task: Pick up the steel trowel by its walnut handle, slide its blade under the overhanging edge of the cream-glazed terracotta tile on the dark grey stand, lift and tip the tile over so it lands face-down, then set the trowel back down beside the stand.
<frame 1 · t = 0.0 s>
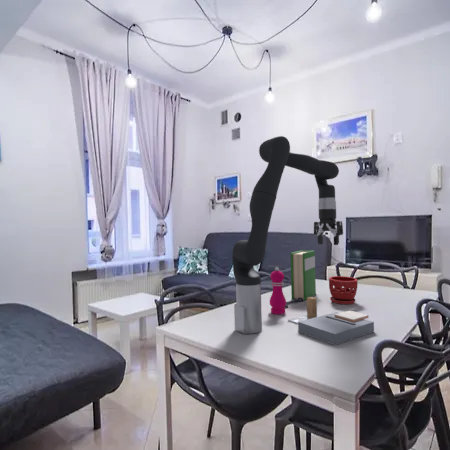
hand: (328, 244, 142), 29 cm above the table, tool pointing down, fingers open, 8 cm apart
bracket: (290, 304, 156), on the table
trowel: (306, 320, 128), on the table
tile stand: (335, 331, 113), on the table
plant pot: (343, 303, 154), on the table
pepper mill: (278, 313, 139), on the table
hardback book: (304, 296, 169), on the table
tile: (351, 317, 118), point 3 cm above the table, touching tile stand
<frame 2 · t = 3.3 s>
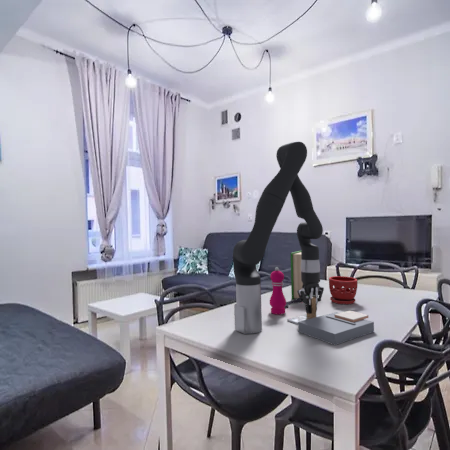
hand: (311, 312, 129), 2 cm above the table, tool pointing down, fingers closed on trowel, 2 cm apart
trowel: (306, 320, 128), on the table, touching gripper
everything else where it was.
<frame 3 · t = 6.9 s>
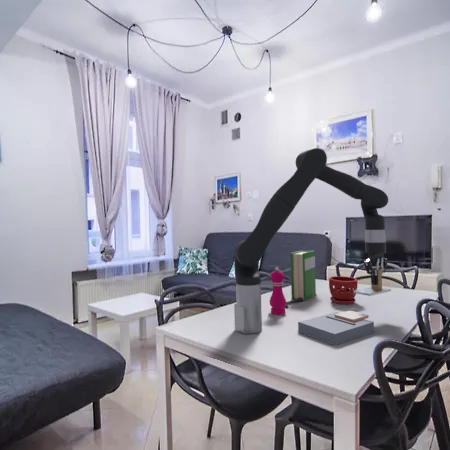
hand: (376, 284, 127), 14 cm above the table, tool pointing down, fingers closed on trowel, 2 cm apart
trowel: (372, 291, 125), point 11 cm above the table, touching gripper
everything else where it was.
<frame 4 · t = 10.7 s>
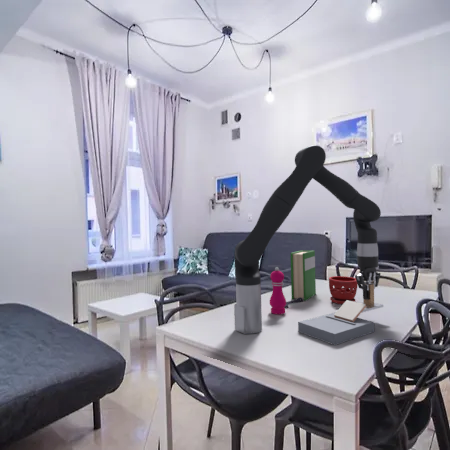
hand: (368, 298, 124), 9 cm above the table, tool pointing down, fingers closed on trowel, 2 cm apart
trowel: (364, 307, 122), point 6 cm above the table, touching gripper
tile: (350, 311, 118), point 6 cm above the table, tilted 29°, touching tile stand
everything else where it was.
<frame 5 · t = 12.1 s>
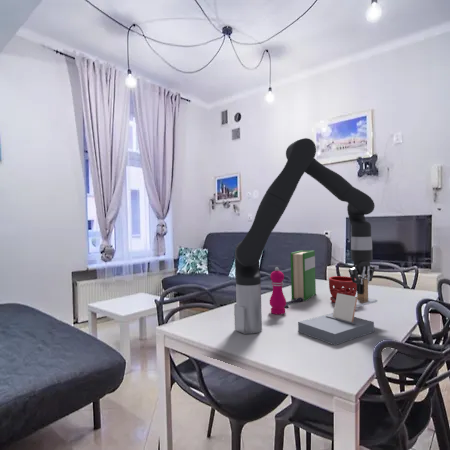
hand: (362, 293, 122), 12 cm above the table, tool pointing down, fingers closed on trowel, 2 cm apart
trowel: (357, 302, 120), point 8 cm above the table, touching gripper
tile: (345, 307, 116), point 8 cm above the table, tilted 70°, touching tile stand
everything else where it was.
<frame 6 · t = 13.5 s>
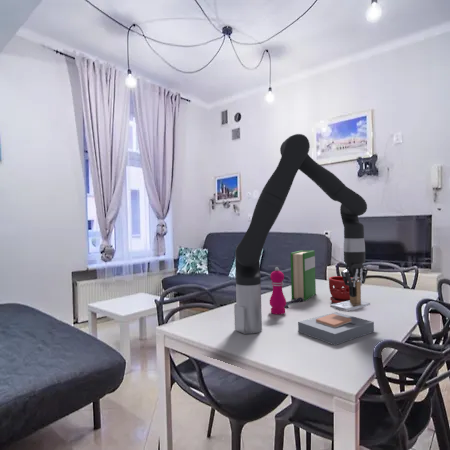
hand: (355, 295, 120), 11 cm above the table, tool pointing down, fingers closed on trowel, 2 cm apart
trowel: (350, 305, 118), point 8 cm above the table, touching gripper
tile: (333, 318, 112), point 5 cm above the table, tilted 177°, touching tile stand
everything else where it was.
when the fingers open (4 cm above the table, at t = 19.5 s): trowel stays where it is, on the table.
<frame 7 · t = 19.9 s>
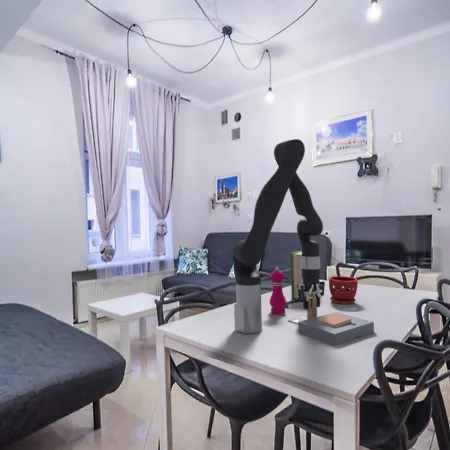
hand: (311, 307, 129), 4 cm above the table, tool pointing down, fingers open, 6 cm apart
trowel: (307, 320, 128), on the table
everything else where it was.
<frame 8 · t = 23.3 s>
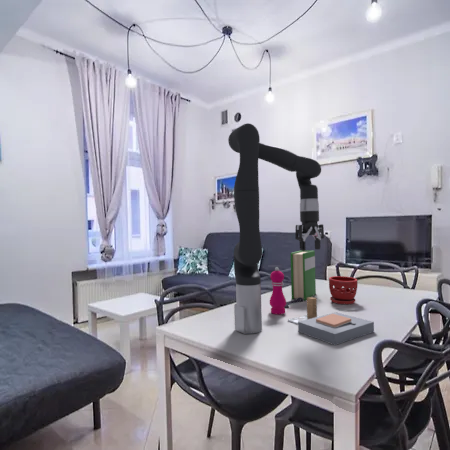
hand: (310, 249, 130), 28 cm above the table, tool pointing down, fingers open, 8 cm apart
nothing on the table moved.
at the end: tile tilted 177°; tile inside the target area (0.6 cm from its centre), point 4.7 cm above the table; trowel inside the target area (0.7 cm from its centre), on the table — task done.
